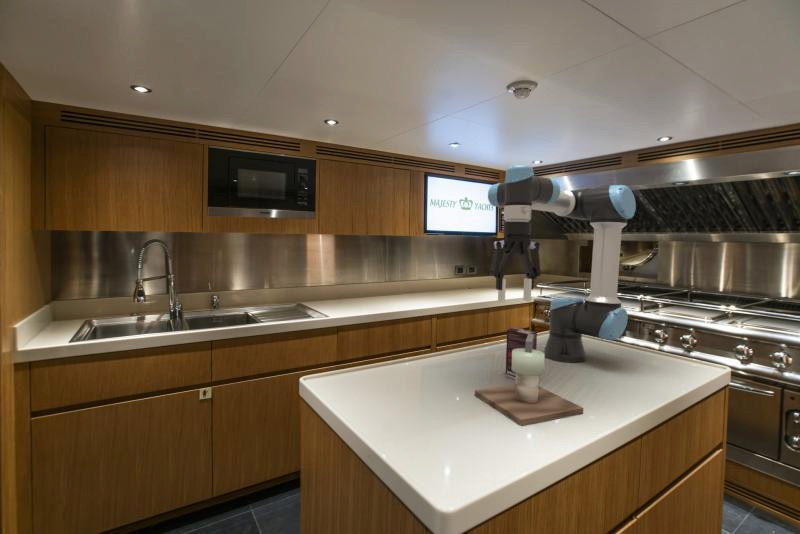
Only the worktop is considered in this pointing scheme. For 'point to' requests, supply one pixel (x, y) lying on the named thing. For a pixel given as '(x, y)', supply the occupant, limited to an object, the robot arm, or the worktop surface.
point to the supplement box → (516, 346)
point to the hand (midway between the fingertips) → (514, 300)
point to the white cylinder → (528, 359)
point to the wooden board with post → (528, 401)
